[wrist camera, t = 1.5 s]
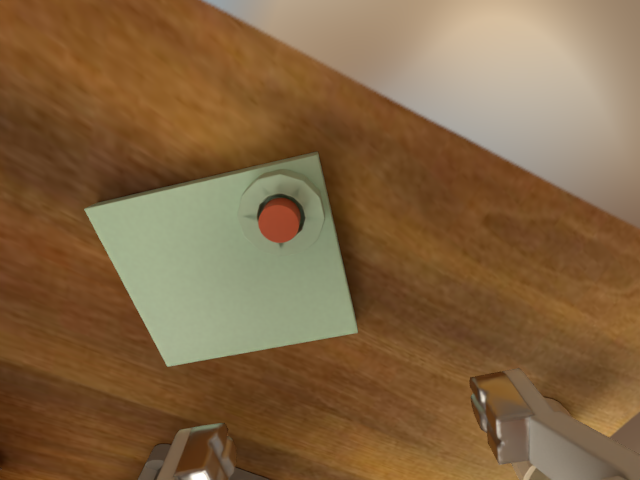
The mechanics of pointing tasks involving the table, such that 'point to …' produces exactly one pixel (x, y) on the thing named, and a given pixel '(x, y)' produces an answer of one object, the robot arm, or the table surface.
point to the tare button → (279, 220)
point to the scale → (229, 262)
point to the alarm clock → (158, 456)
